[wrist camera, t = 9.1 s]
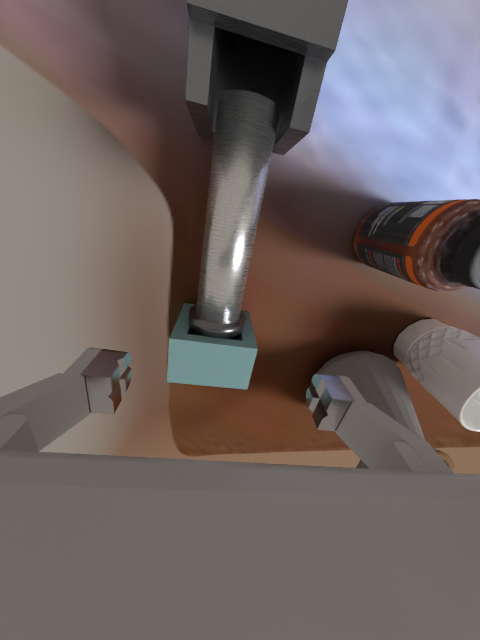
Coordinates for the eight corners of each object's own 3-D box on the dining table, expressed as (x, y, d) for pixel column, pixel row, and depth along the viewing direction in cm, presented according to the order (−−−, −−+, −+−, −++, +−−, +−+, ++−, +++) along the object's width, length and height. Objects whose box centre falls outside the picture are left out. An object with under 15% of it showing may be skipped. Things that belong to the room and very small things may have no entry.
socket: (184, 302, 24) (169, 338, 18) (249, 312, 25) (257, 349, 19) (181, 338, 26) (167, 382, 20) (241, 345, 27) (247, 389, 21)
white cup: (430, 368, 31) (514, 433, 22) (377, 364, 30) (443, 430, 21) (463, 316, 27) (578, 369, 18) (405, 310, 26) (496, 362, 18)
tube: (211, 111, 16) (206, 73, 12) (279, 129, 17) (300, 100, 12) (189, 334, 24) (181, 364, 20) (236, 340, 25) (238, 370, 21)
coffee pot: (351, 323, 27) (477, 439, 13) (402, 368, 31) (541, 494, 17) (239, 424, 34) (249, 568, 20) (292, 451, 37) (331, 587, 24)
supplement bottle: (385, 273, 24) (500, 320, 14) (339, 253, 23) (429, 290, 13) (423, 216, 22) (594, 224, 12) (374, 191, 21) (519, 175, 10)
